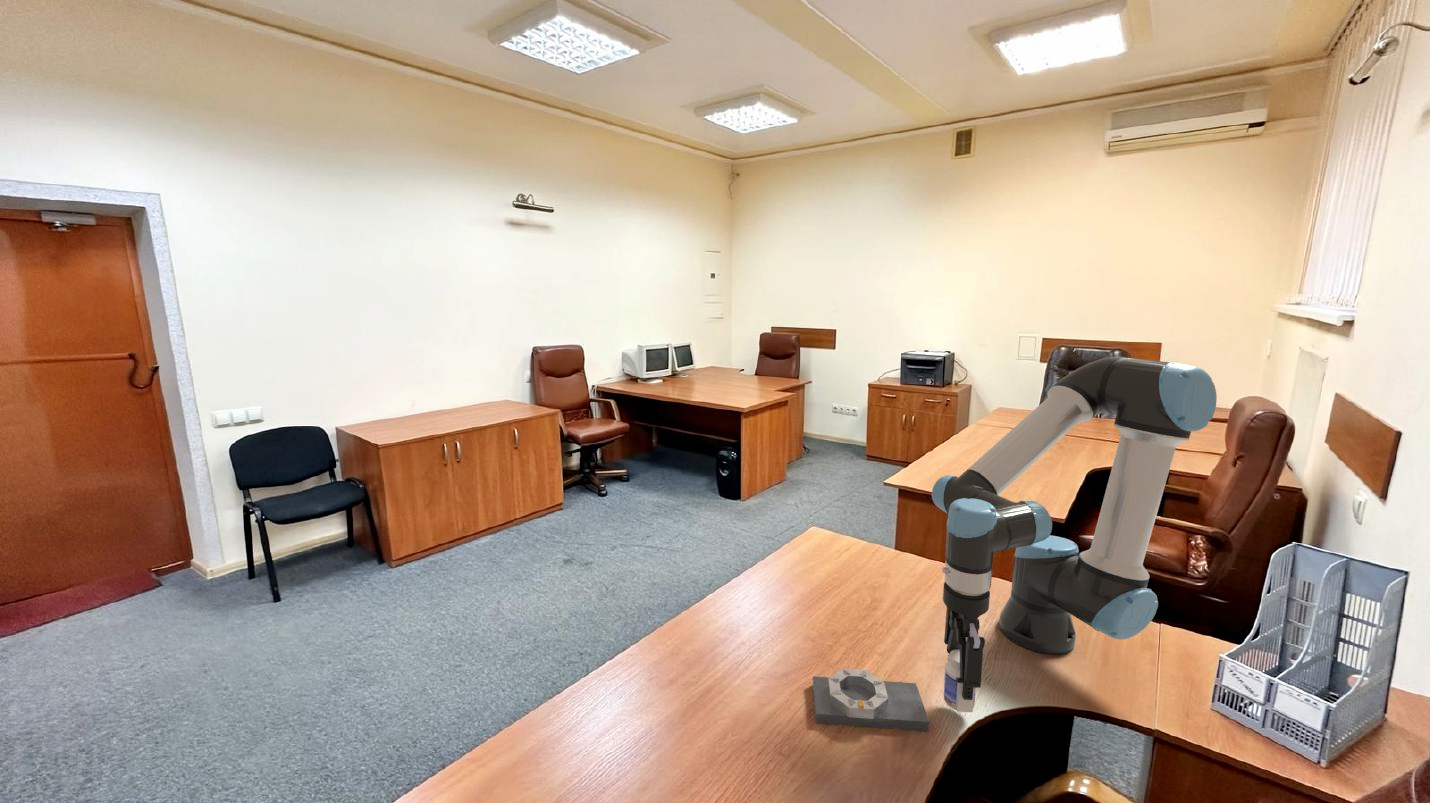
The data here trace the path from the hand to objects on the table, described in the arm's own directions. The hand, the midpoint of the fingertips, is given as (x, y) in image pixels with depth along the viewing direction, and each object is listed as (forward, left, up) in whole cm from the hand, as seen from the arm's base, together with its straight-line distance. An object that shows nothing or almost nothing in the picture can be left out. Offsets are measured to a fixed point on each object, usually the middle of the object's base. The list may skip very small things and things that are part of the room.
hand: (958, 697), depth 104 cm
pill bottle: (0, 0, -1) cm, 1 cm away
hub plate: (+17, 0, -3) cm, 17 cm away
